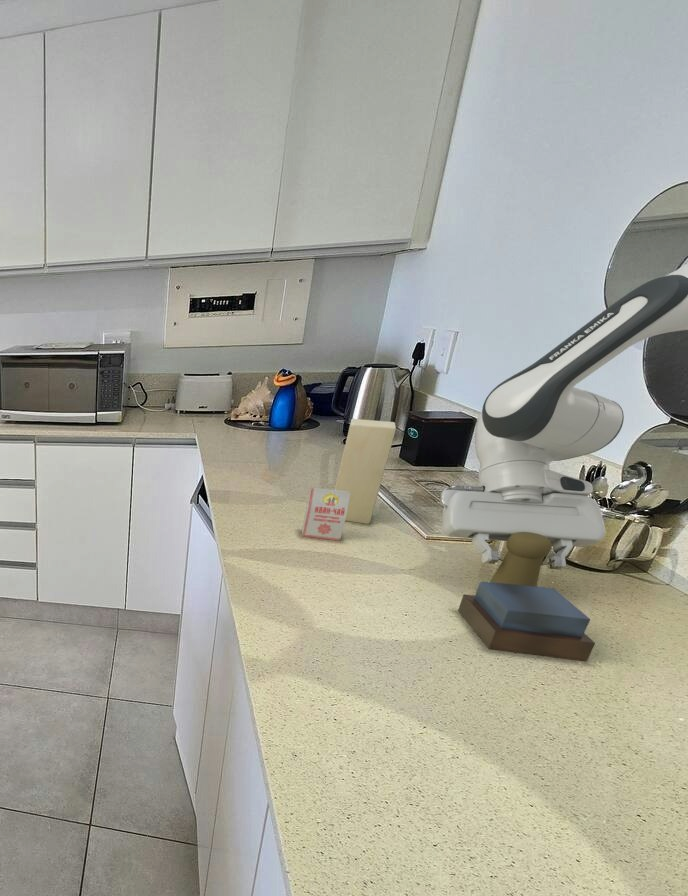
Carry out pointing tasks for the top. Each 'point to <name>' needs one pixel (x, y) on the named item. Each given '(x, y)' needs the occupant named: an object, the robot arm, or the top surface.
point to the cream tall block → (364, 466)
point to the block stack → (527, 620)
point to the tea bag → (325, 514)
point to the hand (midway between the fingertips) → (523, 565)
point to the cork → (523, 559)
